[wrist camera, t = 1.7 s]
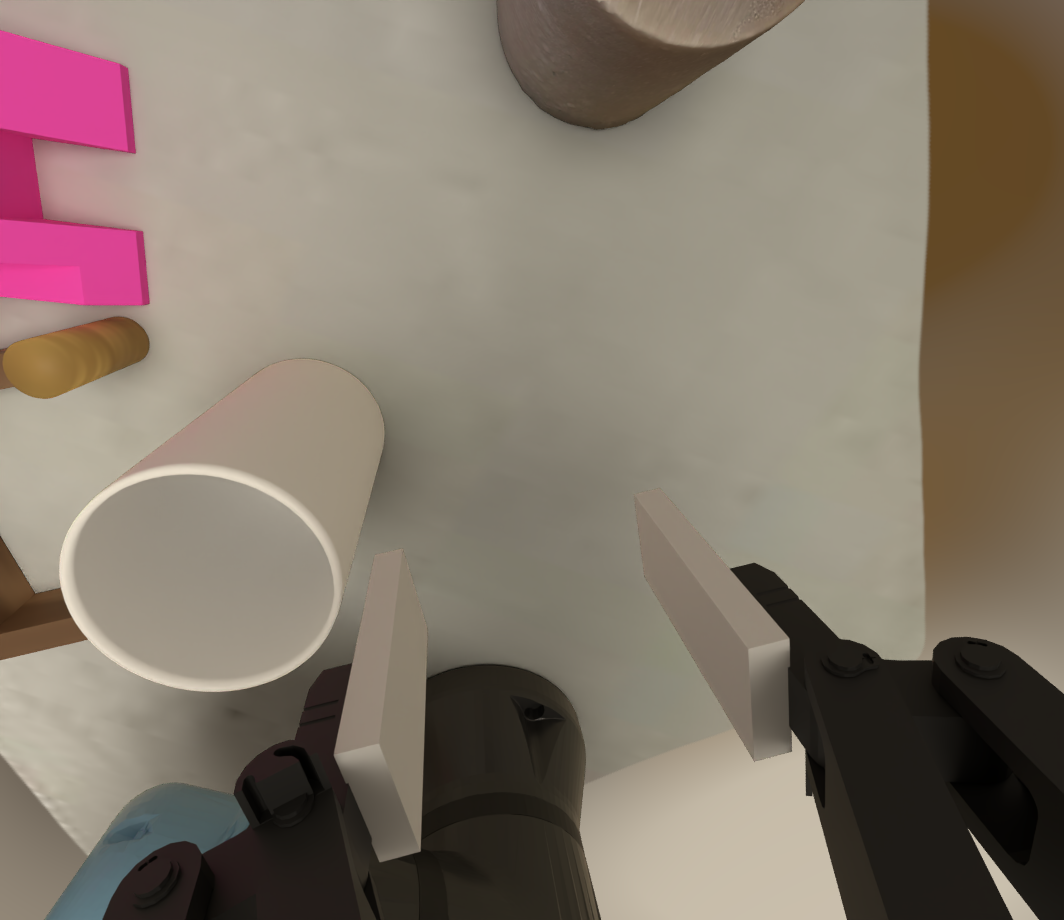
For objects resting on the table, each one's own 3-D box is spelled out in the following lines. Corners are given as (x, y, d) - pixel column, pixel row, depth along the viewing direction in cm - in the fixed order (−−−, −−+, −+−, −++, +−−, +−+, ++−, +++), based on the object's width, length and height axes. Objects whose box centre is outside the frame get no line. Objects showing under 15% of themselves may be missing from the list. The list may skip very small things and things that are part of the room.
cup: (207, 455, 33) (17, 636, 18) (271, 329, 31) (118, 416, 16) (343, 520, 35) (274, 724, 21) (411, 406, 34) (387, 542, 19)
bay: (250, 574, 36) (208, 649, 29) (25, 627, 35) (-69, 716, 28) (137, 312, 30) (52, 334, 23) (-139, 367, 29) (-305, 406, 22)
